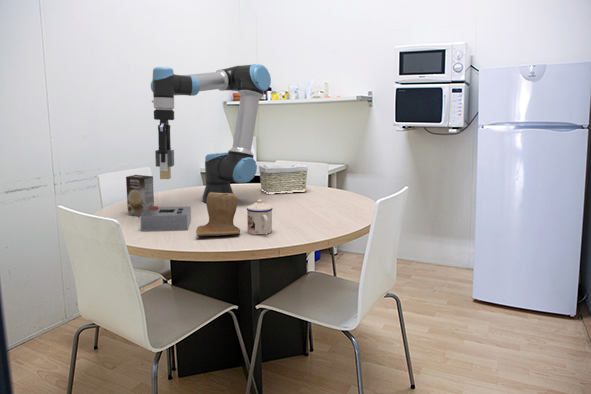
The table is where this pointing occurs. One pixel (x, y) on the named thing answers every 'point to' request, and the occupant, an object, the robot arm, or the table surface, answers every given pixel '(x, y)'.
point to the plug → (169, 160)
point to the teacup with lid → (259, 218)
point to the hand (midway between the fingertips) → (165, 169)
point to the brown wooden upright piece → (219, 215)
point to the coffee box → (139, 194)
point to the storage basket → (283, 177)
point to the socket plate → (166, 218)
